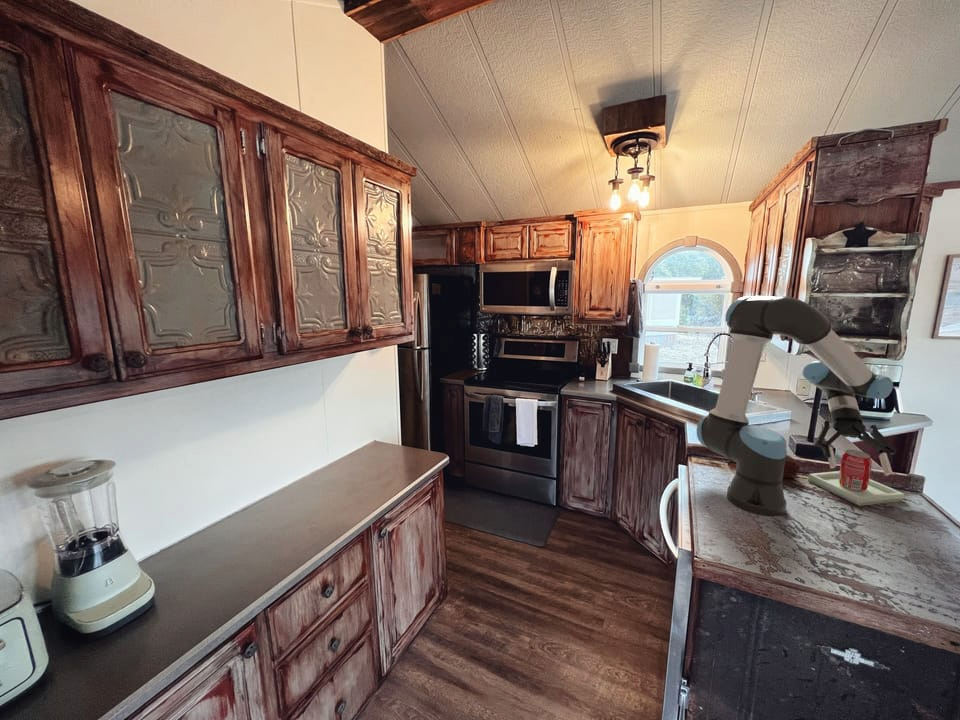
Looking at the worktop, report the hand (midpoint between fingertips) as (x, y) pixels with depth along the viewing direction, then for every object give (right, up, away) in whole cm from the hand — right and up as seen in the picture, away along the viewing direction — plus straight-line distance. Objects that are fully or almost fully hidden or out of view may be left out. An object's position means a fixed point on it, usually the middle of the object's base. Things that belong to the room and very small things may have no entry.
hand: (860, 470), depth 122 cm
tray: (+1, -8, +3) cm, 8 cm away
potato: (-16, -6, +14) cm, 22 cm away
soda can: (+1, -7, +3) cm, 8 cm away
